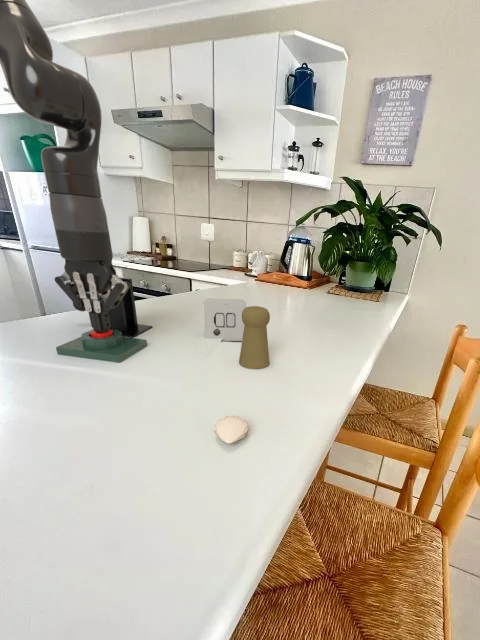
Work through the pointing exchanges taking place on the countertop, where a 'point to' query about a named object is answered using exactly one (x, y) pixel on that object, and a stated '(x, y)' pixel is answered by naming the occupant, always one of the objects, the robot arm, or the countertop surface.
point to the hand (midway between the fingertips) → (101, 331)
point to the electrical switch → (224, 319)
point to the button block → (102, 347)
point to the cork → (255, 338)
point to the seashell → (231, 429)
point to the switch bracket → (126, 315)
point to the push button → (101, 334)
